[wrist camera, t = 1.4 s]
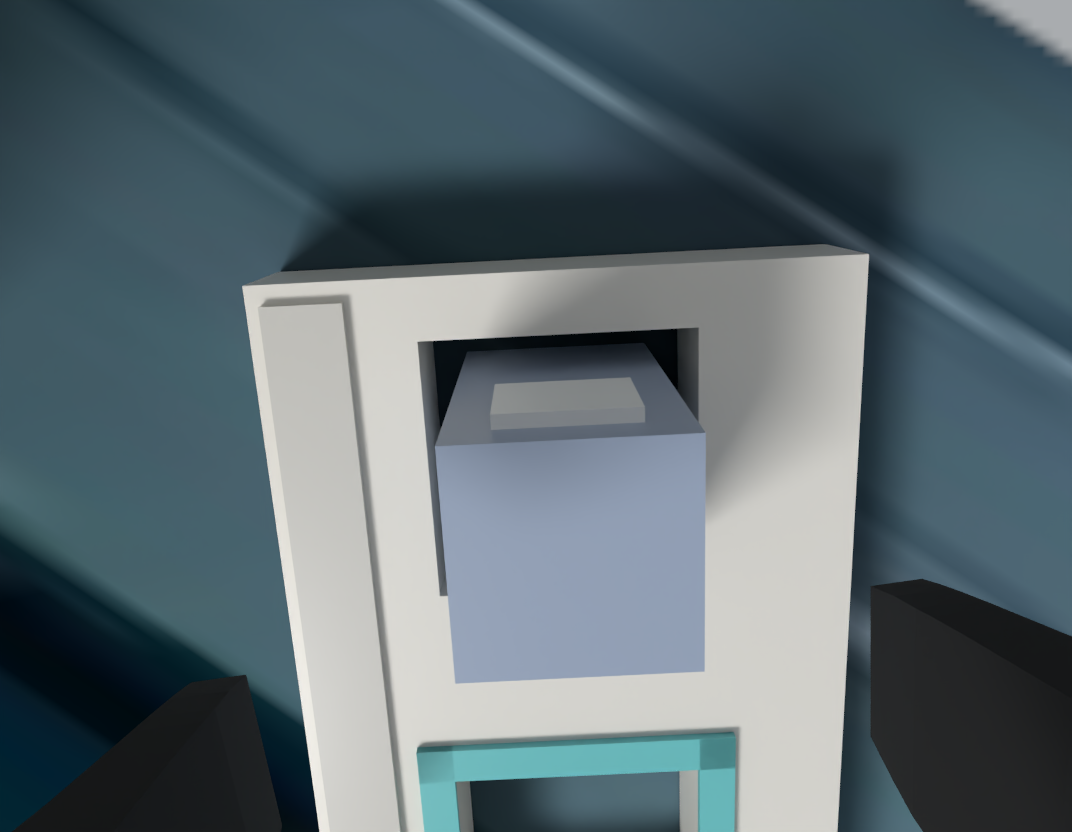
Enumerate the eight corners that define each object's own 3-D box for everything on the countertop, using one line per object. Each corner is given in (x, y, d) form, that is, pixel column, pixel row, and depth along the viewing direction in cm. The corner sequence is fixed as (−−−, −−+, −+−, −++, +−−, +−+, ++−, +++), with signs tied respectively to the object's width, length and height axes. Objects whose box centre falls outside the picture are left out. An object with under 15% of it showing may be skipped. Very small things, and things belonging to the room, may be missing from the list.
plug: (643, 331, 19) (705, 416, 13) (646, 507, 20) (704, 671, 14) (466, 341, 19) (433, 430, 13) (479, 515, 20) (454, 683, 14)
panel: (825, 243, 19) (873, 254, 16) (798, 906, 24) (831, 997, 21) (279, 271, 19) (238, 287, 16) (363, 927, 24) (343, 1020, 21)
